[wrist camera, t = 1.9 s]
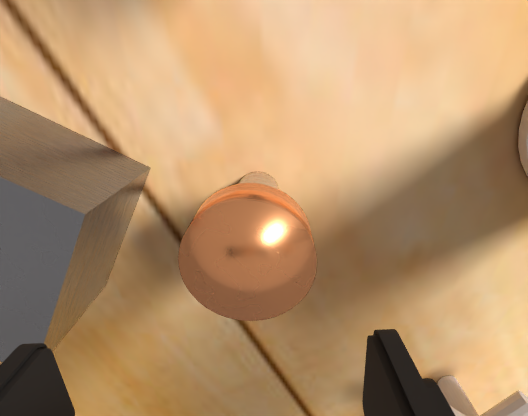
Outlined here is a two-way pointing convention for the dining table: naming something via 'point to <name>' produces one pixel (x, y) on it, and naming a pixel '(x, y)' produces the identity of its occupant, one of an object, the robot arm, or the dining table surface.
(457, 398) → the light grey toy jack
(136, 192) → the hitch block
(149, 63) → the dining table surface
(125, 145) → the dining table surface
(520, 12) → the dining table surface
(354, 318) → the dining table surface
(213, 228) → the copper pin
